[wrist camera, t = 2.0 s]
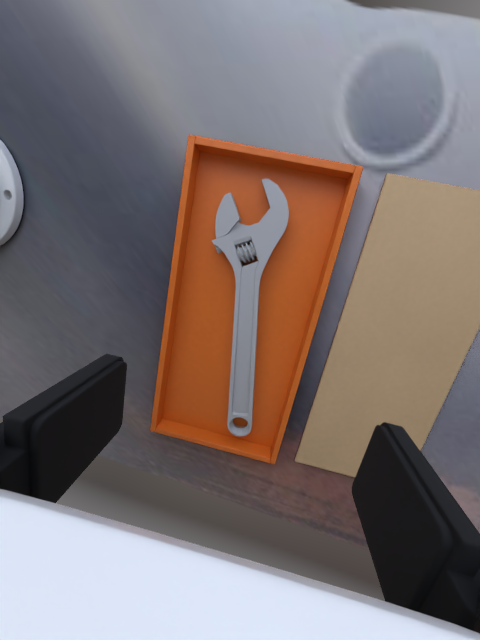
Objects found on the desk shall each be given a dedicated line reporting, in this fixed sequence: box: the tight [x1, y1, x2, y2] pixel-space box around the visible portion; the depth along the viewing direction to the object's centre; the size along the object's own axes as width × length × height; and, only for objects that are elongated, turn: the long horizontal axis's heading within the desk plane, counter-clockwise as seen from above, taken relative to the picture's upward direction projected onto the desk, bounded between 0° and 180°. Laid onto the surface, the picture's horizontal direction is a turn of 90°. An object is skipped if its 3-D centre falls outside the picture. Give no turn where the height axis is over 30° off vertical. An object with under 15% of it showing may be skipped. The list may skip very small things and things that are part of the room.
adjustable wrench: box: [212, 179, 289, 437], centre depth 26 cm, size 25×6×2 cm, turn 173°
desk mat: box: [295, 173, 480, 477], centre depth 26 cm, size 12×30×1 cm, turn 168°
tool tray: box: [150, 135, 363, 464], centre depth 26 cm, size 14×29×2 cm, turn 168°
